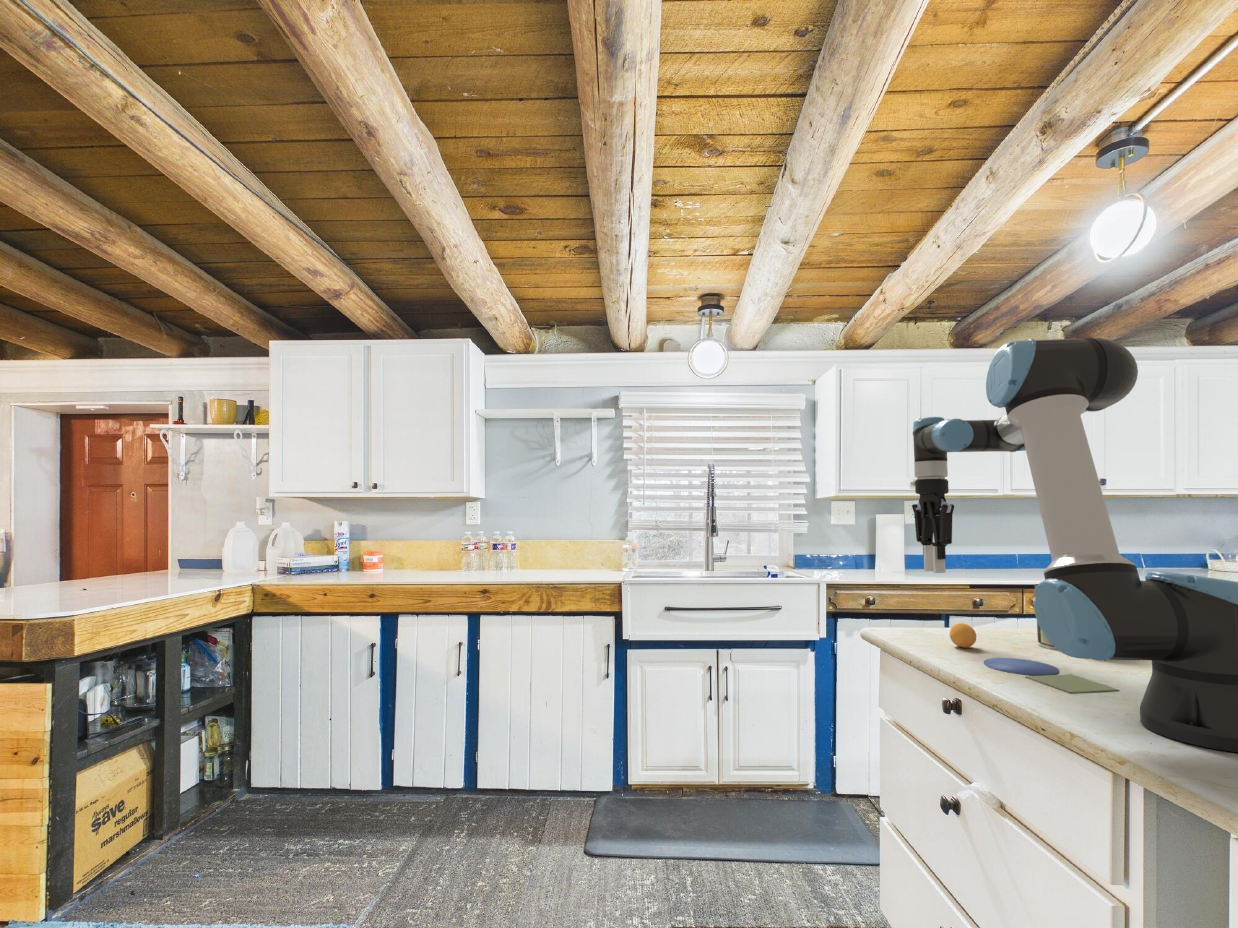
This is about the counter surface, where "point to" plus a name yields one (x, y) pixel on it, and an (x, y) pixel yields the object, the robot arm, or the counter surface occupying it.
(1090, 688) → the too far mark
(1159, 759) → the counter surface
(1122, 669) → the counter surface
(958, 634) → the ball
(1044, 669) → the disc
